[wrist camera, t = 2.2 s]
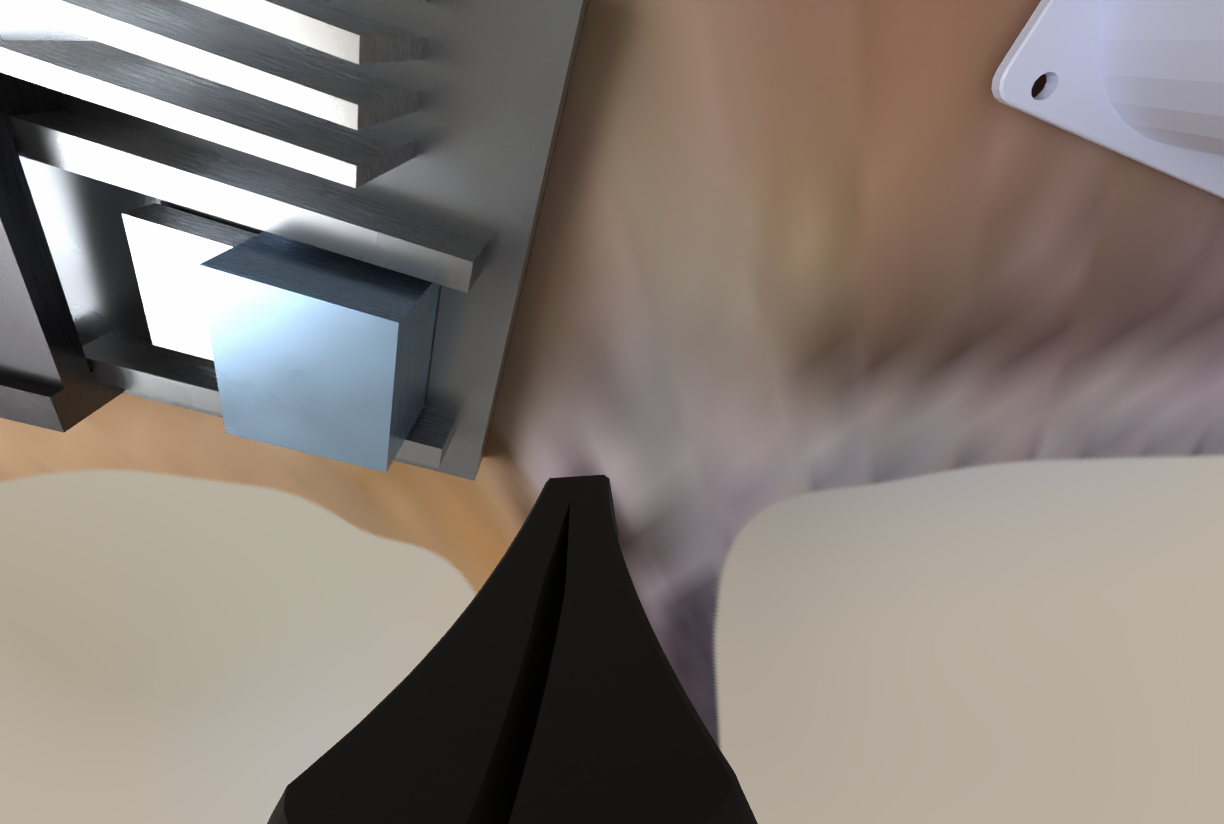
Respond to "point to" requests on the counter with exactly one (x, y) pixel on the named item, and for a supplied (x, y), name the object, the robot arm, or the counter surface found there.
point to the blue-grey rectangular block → (289, 333)
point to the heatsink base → (272, 177)
